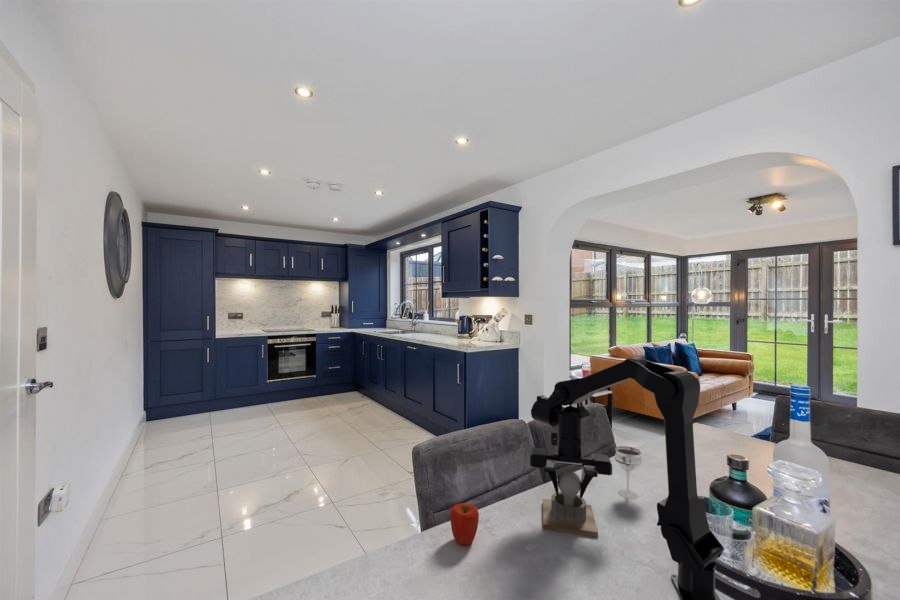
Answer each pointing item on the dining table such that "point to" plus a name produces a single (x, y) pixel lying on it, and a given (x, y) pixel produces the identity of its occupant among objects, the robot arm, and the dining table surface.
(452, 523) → the apple
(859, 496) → the dining table surface
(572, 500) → the light bulb
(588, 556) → the dining table surface
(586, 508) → the socket base
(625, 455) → the wineglass
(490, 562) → the dining table surface
